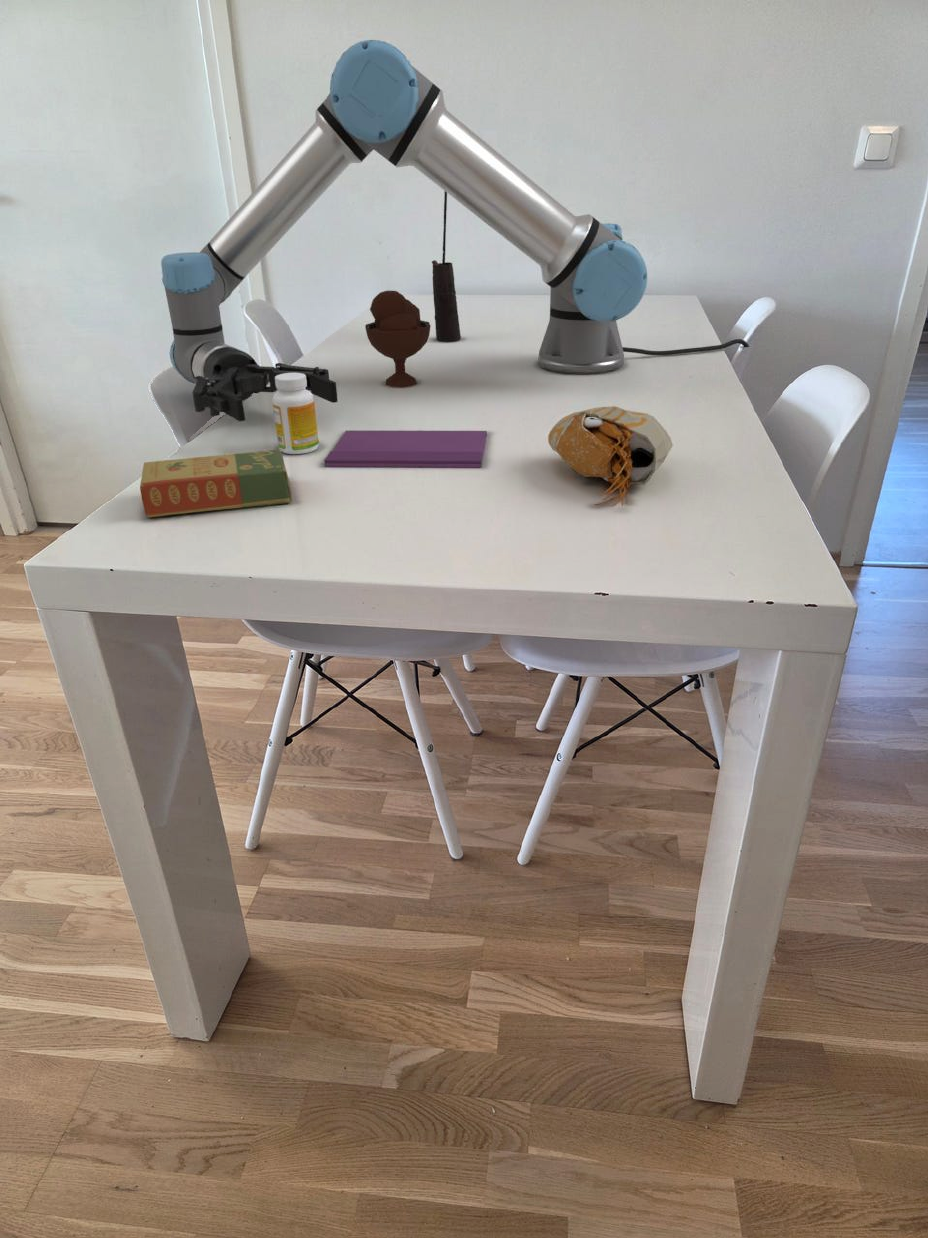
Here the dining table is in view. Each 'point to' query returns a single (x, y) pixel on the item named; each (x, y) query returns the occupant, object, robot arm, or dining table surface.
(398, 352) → the ice cream bowl
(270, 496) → the carton
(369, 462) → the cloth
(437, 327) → the butter churn
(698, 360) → the dining table surface
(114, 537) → the dining table surface
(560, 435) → the nautilus
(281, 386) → the supplement bottle
